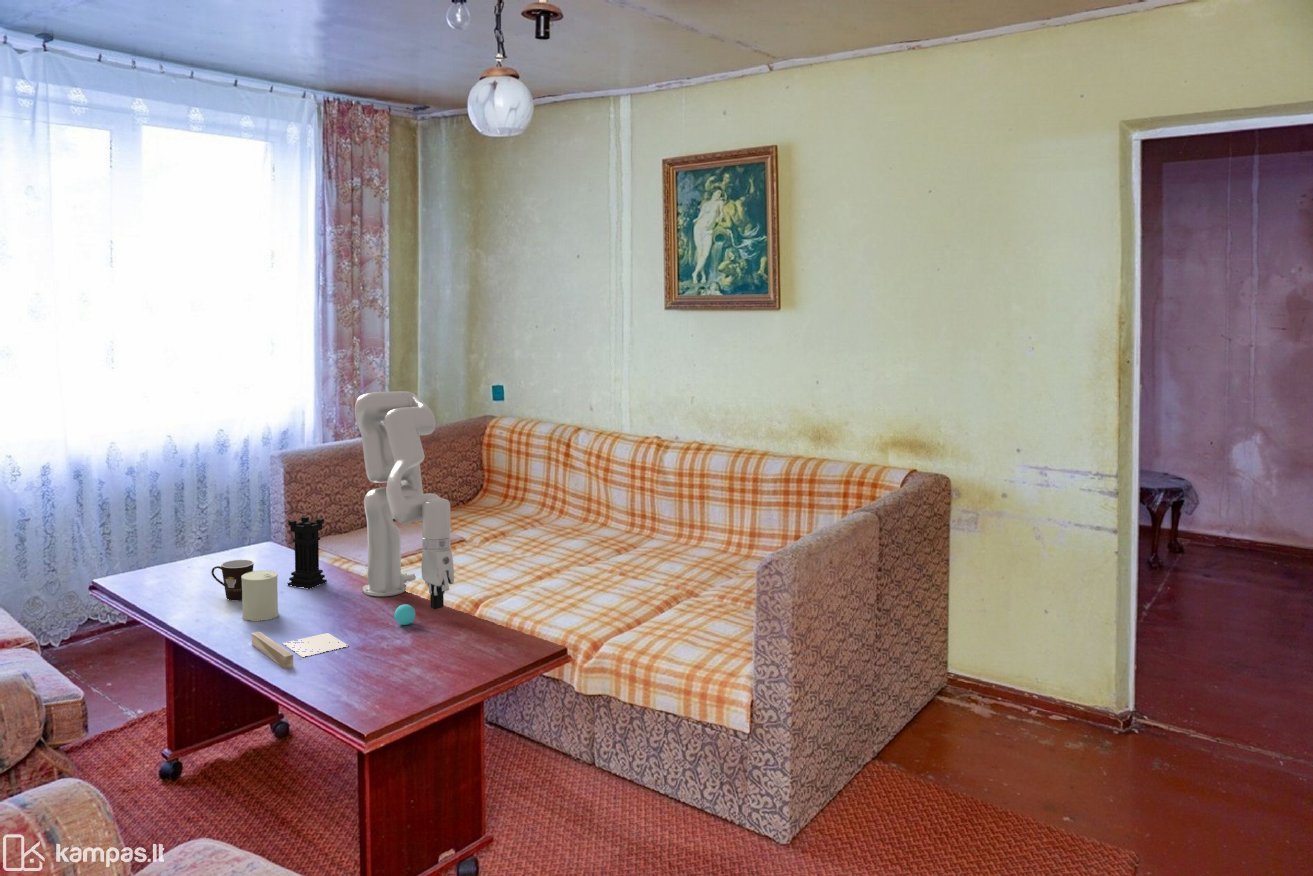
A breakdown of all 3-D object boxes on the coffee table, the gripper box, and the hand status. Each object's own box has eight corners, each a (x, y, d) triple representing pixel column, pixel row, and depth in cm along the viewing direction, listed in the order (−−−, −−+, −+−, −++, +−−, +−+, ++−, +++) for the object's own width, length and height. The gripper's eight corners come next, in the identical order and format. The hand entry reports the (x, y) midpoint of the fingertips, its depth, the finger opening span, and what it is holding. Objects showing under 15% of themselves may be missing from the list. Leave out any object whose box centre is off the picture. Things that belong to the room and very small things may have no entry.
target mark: (327, 633, 243) (327, 632, 243) (349, 646, 234) (349, 645, 234) (282, 643, 235) (282, 643, 235) (302, 657, 226) (302, 657, 226)
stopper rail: (259, 643, 235) (259, 631, 234) (293, 666, 221) (293, 654, 220) (251, 644, 233) (251, 633, 233) (284, 668, 219) (284, 656, 219)
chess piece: (326, 582, 286) (326, 518, 283) (309, 589, 279) (308, 524, 276) (305, 578, 289) (304, 516, 286) (287, 585, 281) (286, 521, 278)
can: (265, 623, 249) (264, 579, 247) (234, 619, 251) (233, 576, 249) (285, 612, 258) (284, 570, 256) (255, 609, 260) (254, 567, 258)
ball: (408, 619, 256) (408, 600, 255) (419, 625, 252) (419, 605, 251) (390, 623, 252) (390, 604, 251) (400, 629, 248) (400, 609, 247)
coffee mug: (260, 596, 270) (260, 563, 269) (233, 603, 263) (232, 569, 262) (236, 588, 276) (236, 556, 275) (209, 595, 269) (208, 562, 268)
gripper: (463, 546, 253) (463, 611, 255) (434, 536, 263) (434, 599, 266) (439, 550, 248) (439, 617, 250) (410, 540, 258) (411, 604, 260)
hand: (437, 607), depth 258 cm, fingers closed
